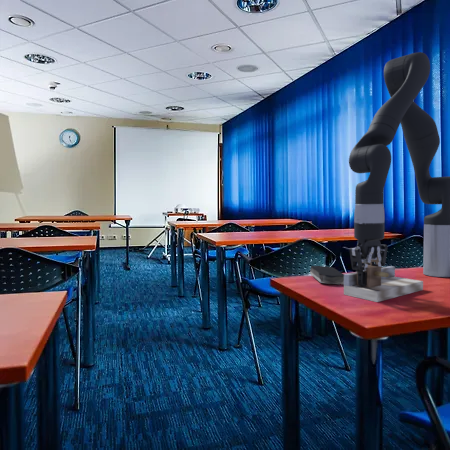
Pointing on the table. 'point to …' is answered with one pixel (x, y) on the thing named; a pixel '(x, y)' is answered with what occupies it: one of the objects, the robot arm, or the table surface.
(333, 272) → the black sponge
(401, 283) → the grey flat tray
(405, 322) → the table surface
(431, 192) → the robot arm
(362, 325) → the table surface
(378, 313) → the table surface
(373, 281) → the brown block with peg
